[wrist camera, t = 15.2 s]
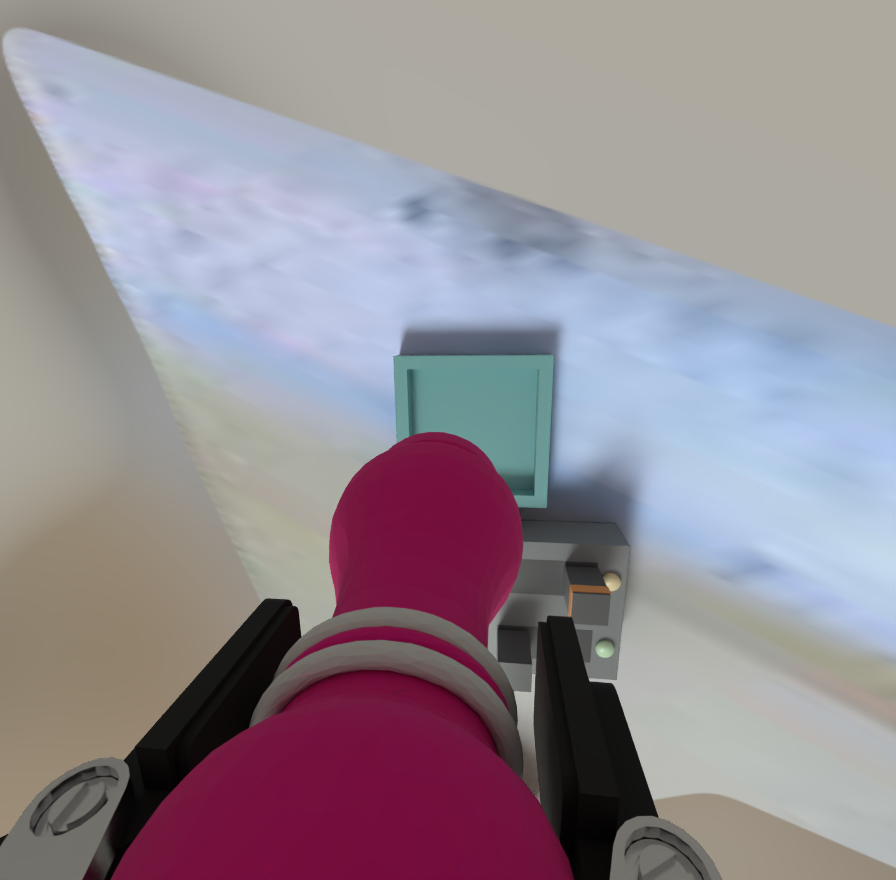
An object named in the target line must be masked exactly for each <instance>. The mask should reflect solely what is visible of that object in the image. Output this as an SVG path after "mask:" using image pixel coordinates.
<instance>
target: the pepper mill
mask: <svg viewBox="0 0 896 880" xmlns="http://www.w3.org/2000/svg"><path fill="white" fill-rule="evenodd" d="M522 554H523V533H522V522H521V516H520V512H519V508H518V504H517V502H516V500H515V498H514V496H513V493H512V491H511V490H510V488H509V487H508V485H507V484H506V482H505V481H504V479H503V478H502V477H501V476H500V475H499V474H498V473H497V471H496V469H495V467H494V465H493V463H492V462H491V461H490V459H489V458H488V456H487V455H486V454H485V453H484V452H483V451H482V450H481V449H480V448H479V447H477V446H476V445H475V444H473V443H472V442H470V441H469V440H466V439H464V438H462V437H459V436H457V435H453V434H449V433H445V432H425V433H419V434H415V435H413V436H410V437H407V438H405V439H403V440H402V441H400V442H398V443H397V444H395V445H394V446H392V447H391V448H390V449H389V450H388V451H386V452H384V453H382V454H380V455H378V456H376V457H375V458H374V459H372V460H371V461H369V462H368V463H366V464H365V465H364V466H363V467H362V468H361V469H360V470H359V471H358V472H357V473H356V474H355V475H354V477H353V478H352V479H351V481H350V482H349V484H348V485H347V487H346V489H345V491H344V493H343V495H342V497H341V499H340V501H339V503H338V506H337V508H336V511H335V513H334V515H333V519H332V525H331V531H330V542H329V563H330V569H331V575H332V579H333V584H334V588H335V595H336V604H337V605H336V609H335V611H334V614H333V617H332V618H331V619H328V620H326V621H325V622H323V623H321V624H319V625H317V626H315V627H314V628H312V629H311V630H310V631H309V632H307V633H306V634H305V635H303V636H302V637H301V638H300V639H299V640H298V641H297V642H296V643H295V644H294V645H293V646H292V647H291V649H290V650H289V651H288V652H287V653H286V655H285V656H284V658H283V659H282V661H281V663H280V665H279V667H278V669H277V671H276V673H275V676H274V679H273V682H272V684H271V685H270V686H269V687H268V689H267V690H266V691H265V692H264V693H263V695H262V697H261V699H260V701H259V702H258V704H257V706H256V708H255V710H254V712H253V715H252V718H251V722H250V726H249V728H248V729H246V730H244V731H243V732H241V733H239V734H238V735H236V736H235V737H233V738H232V739H230V740H229V741H227V742H226V743H224V744H223V745H221V746H219V747H218V748H216V749H215V750H213V751H212V752H211V753H210V754H209V755H208V756H207V757H206V758H205V759H204V760H203V761H201V762H200V763H199V764H198V765H197V766H196V767H195V768H194V769H193V770H192V771H191V772H190V773H189V774H188V775H187V776H186V777H185V778H184V779H183V780H182V781H181V782H180V783H179V784H178V785H177V786H176V788H175V789H174V790H173V791H172V792H171V793H170V794H169V795H168V796H167V797H166V798H165V799H164V800H163V801H162V802H161V804H160V805H159V807H158V808H157V809H156V811H155V812H154V813H153V815H152V816H151V817H150V819H149V820H148V822H147V823H146V824H145V826H144V827H143V828H142V830H141V831H140V833H139V834H138V835H137V837H136V838H135V840H134V841H133V842H132V844H131V845H130V847H129V848H128V849H127V851H126V852H125V854H124V855H123V857H122V859H121V861H120V863H119V865H118V866H117V868H116V870H115V872H114V874H113V876H112V878H111V879H110V880H574V877H573V873H572V870H571V866H570V862H569V859H568V857H567V855H566V853H565V851H564V850H563V848H562V846H561V844H560V842H559V840H558V838H557V836H556V834H555V832H554V830H553V828H552V826H551V824H550V822H549V820H548V818H547V816H546V815H545V813H544V811H543V809H542V807H541V805H540V803H539V801H538V800H537V798H536V797H535V796H534V795H533V793H532V792H531V791H530V789H529V788H528V787H527V786H526V784H525V783H524V782H523V781H522V778H523V752H522V745H521V741H520V736H519V732H518V729H517V722H518V718H517V705H516V701H515V696H514V691H513V689H512V687H511V684H510V682H509V680H508V678H507V676H506V673H505V672H504V670H503V669H502V667H501V665H500V664H499V662H498V660H497V659H496V658H495V657H494V656H493V655H492V654H491V652H490V651H489V650H488V630H489V625H490V623H491V622H492V620H493V619H494V618H495V616H496V615H497V613H498V612H499V611H500V609H501V608H502V606H503V605H504V603H505V602H506V600H507V599H508V596H509V594H510V592H511V590H512V588H513V585H514V583H515V581H516V579H517V576H518V572H519V568H520V565H521V561H522Z"/></svg>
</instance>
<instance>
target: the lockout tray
mask: <svg viewBox="0 0 896 880" xmlns="http://www.w3.org/2000/svg"><path fill="white" fill-rule="evenodd" d="M393 357H394V382H395V406H396V431H397V443H398V442H400V441H402V440H403V439H405V438H407V437H410V436H413V435H415V434H419V433H425V432H445V433H449V434H453V435H457V436H459V437H462V438H464V439H466V440H469V441H470V442H472V443H473V444H475V445H476V446H477V447H479V448H480V449H481V450H482V451H483V452H484V453H485V454H486V455H487V456H488V458H489V459H490V461H491V462H492V463H493V465H494V467H495V469H496V471H497V473H498V474H499V475H500V476H501V477H502V478H503V479H504V481H505V482H506V484H507V485H508V487H509V488H510V490H511V491H512V493H513V496H514V498H515V500H516V502H517V504H518V507H528V508H547V490H548V469H549V448H550V427H551V406H552V385H553V364H554V355H552V354H486V355H397V356H393Z"/></svg>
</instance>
